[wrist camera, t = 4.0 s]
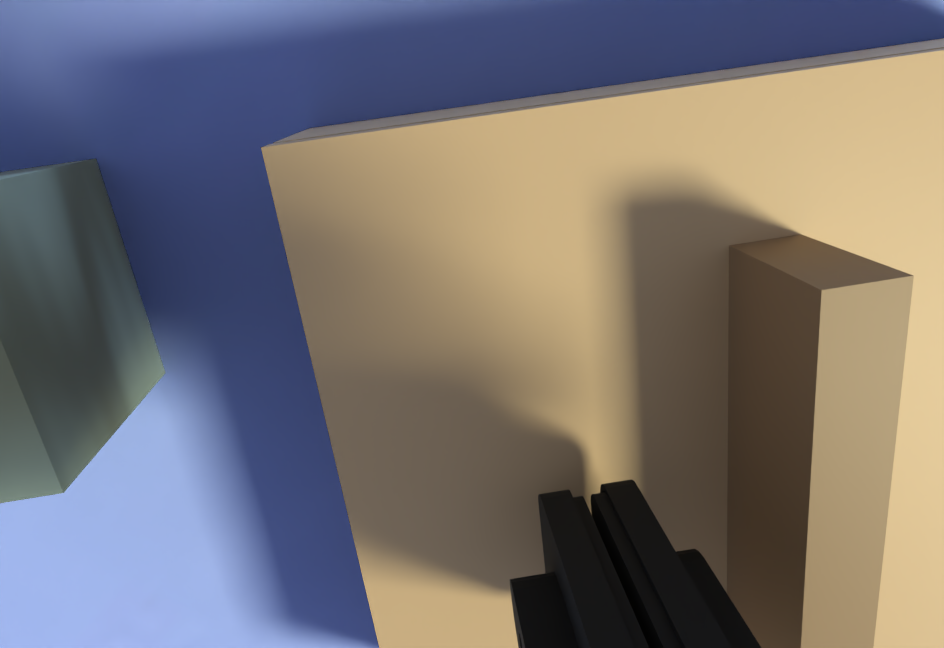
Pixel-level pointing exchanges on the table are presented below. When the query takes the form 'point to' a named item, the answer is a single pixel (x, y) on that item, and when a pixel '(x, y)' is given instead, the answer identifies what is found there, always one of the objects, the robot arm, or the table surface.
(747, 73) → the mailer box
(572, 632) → the robot arm
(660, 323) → the mailer lid
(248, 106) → the table surface
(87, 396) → the green block
